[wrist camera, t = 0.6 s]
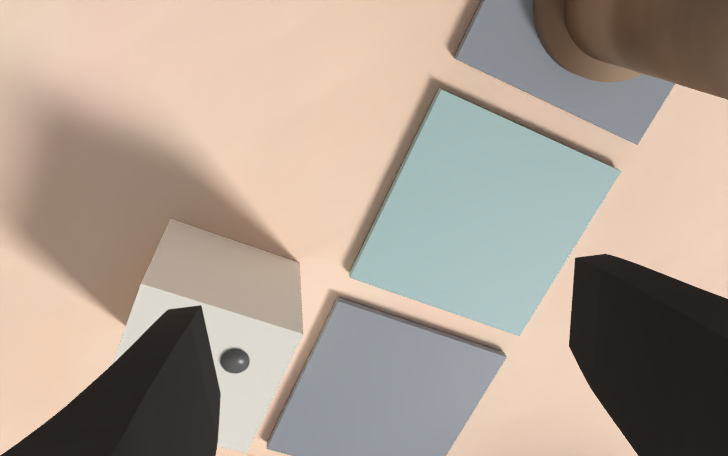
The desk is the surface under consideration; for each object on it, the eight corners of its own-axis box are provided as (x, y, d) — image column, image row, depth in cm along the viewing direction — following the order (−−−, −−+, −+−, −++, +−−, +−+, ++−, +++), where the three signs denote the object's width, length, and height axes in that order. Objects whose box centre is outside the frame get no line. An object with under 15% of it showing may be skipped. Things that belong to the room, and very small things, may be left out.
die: (299, 261, 21) (302, 334, 17) (253, 364, 22) (246, 455, 18) (170, 217, 20) (140, 284, 16) (131, 328, 21) (93, 417, 17)
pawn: (717, -47, 18) (943, -53, 12) (629, 101, 20) (788, 165, 13) (588, -126, 17) (765, -179, 11) (504, 39, 18) (616, 78, 12)
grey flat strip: (760, -67, 18) (767, -67, 18) (284, 711, 31) (284, 718, 30) (571, -187, 16) (576, -189, 16) (145, 692, 29) (144, 700, 29)
